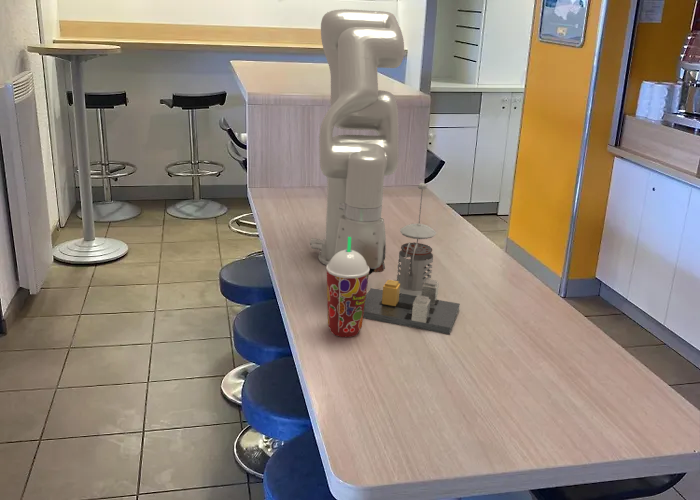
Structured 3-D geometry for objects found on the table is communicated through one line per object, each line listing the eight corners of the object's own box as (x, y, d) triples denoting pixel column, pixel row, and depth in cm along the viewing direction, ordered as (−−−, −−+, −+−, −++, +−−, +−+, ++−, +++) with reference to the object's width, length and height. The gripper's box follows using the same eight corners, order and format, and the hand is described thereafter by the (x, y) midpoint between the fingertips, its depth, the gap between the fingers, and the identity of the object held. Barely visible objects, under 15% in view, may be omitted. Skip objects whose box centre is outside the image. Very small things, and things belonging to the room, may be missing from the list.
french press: (438, 282, 160) (449, 180, 151) (427, 302, 150) (438, 193, 141) (398, 275, 163) (406, 174, 154) (384, 294, 153) (392, 187, 144)
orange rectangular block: (381, 303, 144) (383, 284, 142) (385, 298, 146) (386, 278, 145) (395, 306, 143) (397, 286, 141) (398, 300, 146) (400, 281, 144)
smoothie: (361, 343, 131) (367, 247, 124) (319, 337, 132) (322, 242, 125) (368, 324, 138) (374, 232, 131) (329, 319, 140) (333, 227, 133)
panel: (354, 316, 142) (356, 289, 139) (370, 294, 152) (372, 269, 150) (449, 334, 136) (452, 307, 134) (458, 309, 147) (462, 284, 145)
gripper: (323, 211, 138) (319, 293, 145) (393, 222, 134) (387, 305, 141) (334, 202, 145) (331, 280, 152) (402, 211, 141) (396, 292, 148)
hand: (358, 292), depth 146 cm, fingers closed
